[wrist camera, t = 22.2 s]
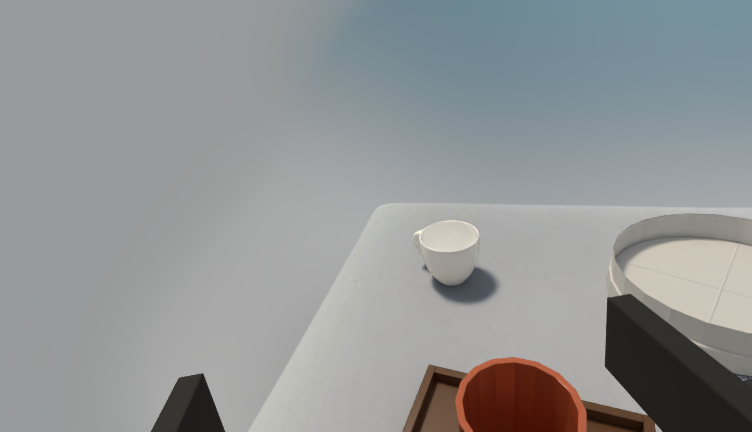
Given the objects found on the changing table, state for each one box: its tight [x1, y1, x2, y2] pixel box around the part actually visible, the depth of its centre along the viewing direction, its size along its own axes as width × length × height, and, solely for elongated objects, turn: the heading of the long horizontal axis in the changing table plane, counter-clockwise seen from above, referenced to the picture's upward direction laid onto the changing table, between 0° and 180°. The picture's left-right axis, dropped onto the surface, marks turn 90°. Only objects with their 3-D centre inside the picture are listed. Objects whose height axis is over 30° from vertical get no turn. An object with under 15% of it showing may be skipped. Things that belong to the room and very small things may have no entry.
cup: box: [413, 220, 479, 286], centre depth 57 cm, size 8×10×7 cm
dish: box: [607, 213, 752, 376], centre depth 46 cm, size 22×22×5 cm
